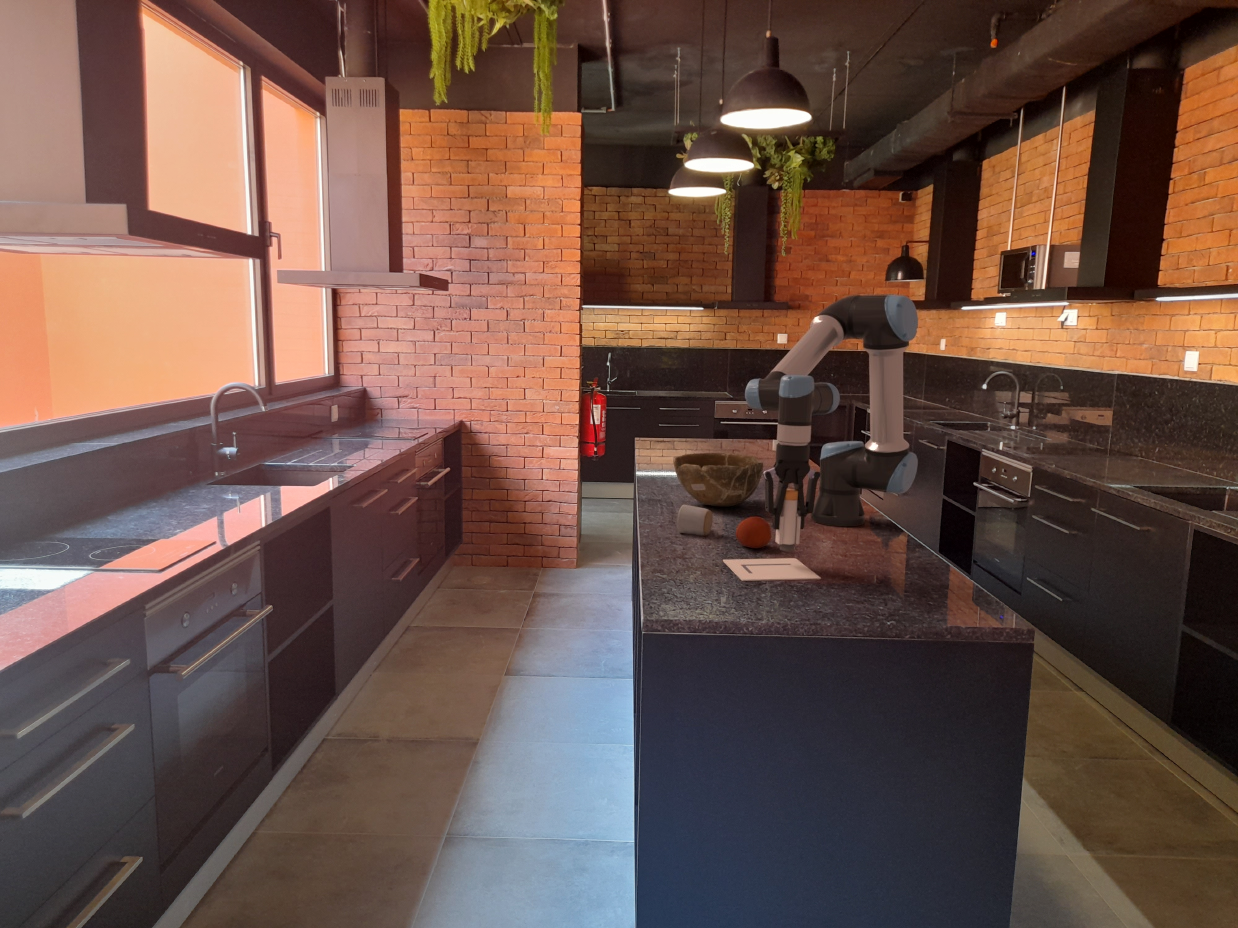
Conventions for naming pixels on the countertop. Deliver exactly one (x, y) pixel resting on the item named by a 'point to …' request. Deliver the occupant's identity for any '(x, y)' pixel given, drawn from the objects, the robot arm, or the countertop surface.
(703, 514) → the ceramic mug
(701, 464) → the bowl
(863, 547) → the countertop surface
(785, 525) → the marker
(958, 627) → the countertop surface
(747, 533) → the fruit
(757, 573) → the paper
